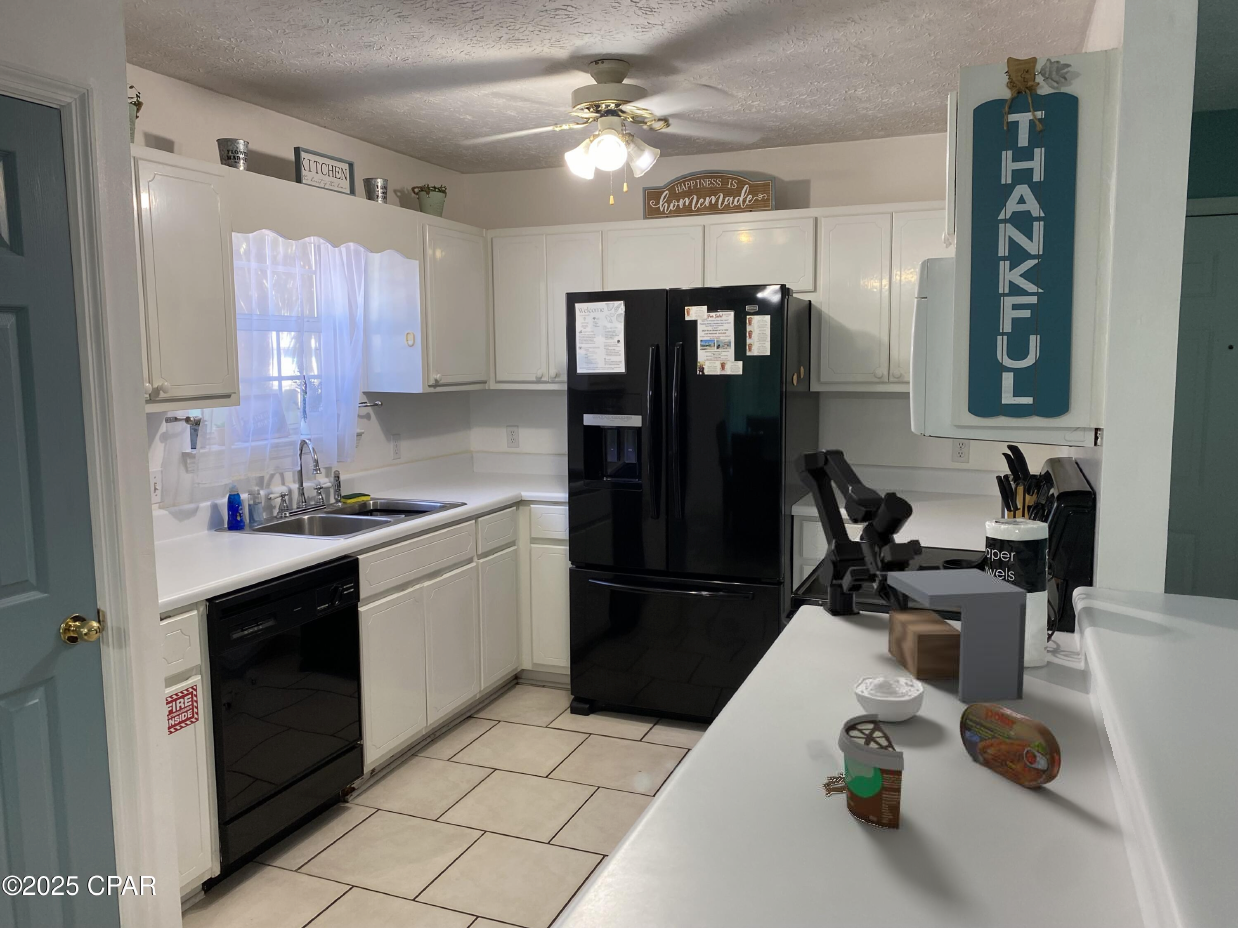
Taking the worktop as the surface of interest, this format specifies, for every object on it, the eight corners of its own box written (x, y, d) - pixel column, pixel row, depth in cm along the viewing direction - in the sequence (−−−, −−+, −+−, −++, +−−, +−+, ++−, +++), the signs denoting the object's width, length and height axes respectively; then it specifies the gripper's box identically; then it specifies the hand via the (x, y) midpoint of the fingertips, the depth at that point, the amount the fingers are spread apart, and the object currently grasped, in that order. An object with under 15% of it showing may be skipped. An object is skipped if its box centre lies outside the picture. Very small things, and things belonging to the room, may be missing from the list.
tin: (956, 752, 125) (958, 694, 124) (973, 748, 126) (975, 691, 125) (1045, 799, 111) (1048, 735, 110) (1063, 794, 112) (1067, 730, 111)
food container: (827, 785, 115) (828, 711, 114) (875, 785, 115) (876, 711, 114) (849, 835, 103) (850, 753, 102) (902, 835, 103) (904, 753, 102)
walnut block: (888, 651, 169) (889, 610, 168) (929, 650, 169) (930, 609, 168) (916, 678, 154) (917, 634, 153) (961, 678, 154) (963, 633, 153)
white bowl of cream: (939, 717, 137) (940, 674, 136) (894, 737, 130) (895, 693, 129) (883, 698, 145) (884, 658, 144) (838, 717, 138) (838, 675, 137)
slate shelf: (885, 670, 158) (887, 572, 156) (972, 665, 160) (976, 568, 158) (926, 704, 142) (929, 595, 140) (1022, 698, 144) (1026, 591, 142)
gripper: (848, 526, 171) (870, 597, 161) (940, 523, 173) (967, 592, 163) (833, 558, 179) (853, 626, 170) (921, 554, 181) (945, 622, 172)
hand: (904, 616), depth 168 cm, fingers closed
